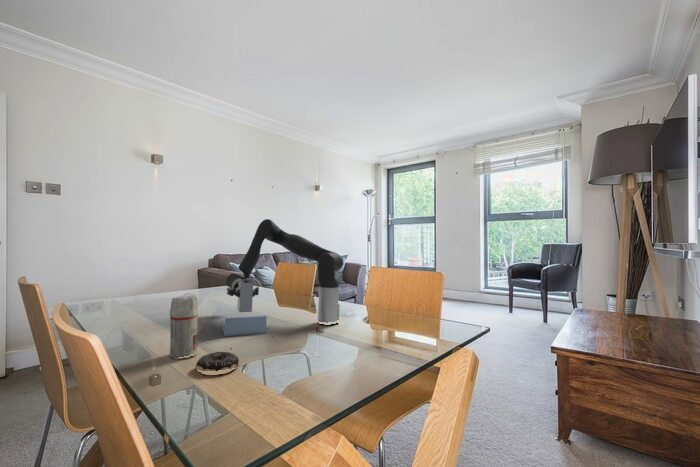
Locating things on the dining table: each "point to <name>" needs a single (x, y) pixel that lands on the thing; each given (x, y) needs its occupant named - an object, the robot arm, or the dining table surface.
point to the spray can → (183, 325)
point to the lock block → (245, 295)
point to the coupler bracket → (245, 325)
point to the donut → (217, 361)
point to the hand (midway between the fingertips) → (246, 294)
